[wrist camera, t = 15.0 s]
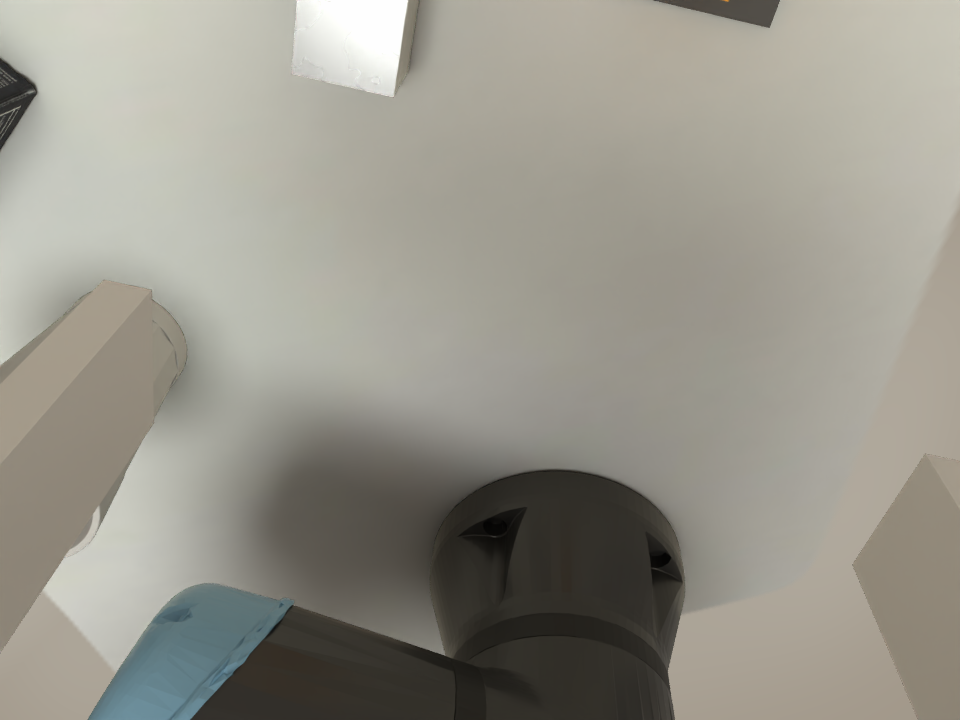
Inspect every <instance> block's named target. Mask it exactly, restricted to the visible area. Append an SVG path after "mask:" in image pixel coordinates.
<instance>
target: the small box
mask: <svg viewBox="0 0 960 720" xmlns="http://www.w3.org/2000/svg"><path fill="white" fill-rule="evenodd" d="M35 95H36V91H35V89H34V87H33V86H32V85H31V84H29V83H28V82H27V80H26V79H25V78H23V77H22V76H20V75H19V74H17V73H15V72H14V71H13V70H11V69H10V68H9V67H8V66H7V64H5V63H3V62H2V61H1V60H0V149H1V147H2V145H3V144H4V142H5V141H6V139H7V138H8V136H9V135H10V134H11V132H12V130H13V129H14V127H15V126H16V124H17V122H18V121H19V119H20V118H21V116H22V115H23V113H24V111H25V109H26V108H27V107H28V105H29V103H30V102H31V100H32V99H33V97H34V96H35Z"/></svg>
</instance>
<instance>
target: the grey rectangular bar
mask: <svg viewBox="0 0 960 720" xmlns="http://www.w3.org/2000/svg"><path fill="white" fill-rule="evenodd" d="M418 5H419V0H297V6H296V18H295V31H294V44H293V57H292V70H291V74H293V75H297V76H302V77H306V78H311V79H315V80H319V81H324V82H328V83H333V84H337V85H341V86H346V87H350V88H355V89H359V90H363V91H368V92H372V93H376V94H381V95H385V96H390V97H394V96H395V94H396V92H397V90H398V89H399V87H400V85H401V84H402V82H403V80H404V78H405V77H406V75H407V73H408V70H409V63H410V57H411V50H412V44H413V37H414V31H415V24H416V18H417V11H418Z"/></svg>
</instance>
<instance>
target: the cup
mask: <svg viewBox="0 0 960 720" xmlns="http://www.w3.org/2000/svg"><path fill="white" fill-rule="evenodd" d="M90 293H91V292H90ZM90 293H87V294H86V295H84V296H83V297H81V298H80V299H79V300H78V301H77V302H76V303H75V304H74V305H73V306H72V307H71V308H70V309H69V310H68V311H67V312H66V313H65V314H64V315H63V316H62V317H61V318H60V319H58V320H57V321H56V322H55V323H53V324H52V325H51V326H50V327H48V328H47V329H46V330H45V331H43V332H42V333H41V334H40V335H38V336H37V337H36V338H35V339H33V340H32V341H31V342H30V343H28V344H27V345H26V346H25V347H23V348H22V349H21V350H20V351H18V352H17V353H16V354H14V355H13V356H12V357H11V358H9V359H8V360H7V361H6V362H4V363H3V364H2V365H1V366H0V384H1V383H2V382H3V381H4V380H5V379H6V378H7V377H8V376H9V375H10V374H11V373H12V372H13V371H14V370H15V369H16V368H17V367H18V366H19V365H20V364H21V363H22V362H23V361H24V360H25V359H26V358H27V357H28V356H29V355H30V354H31V353H32V352H33V351H34V350H35V349H36V348H37V347H38V346H39V345H40V344H41V343H42V342H43V341H44V340H45V339H46V338H47V337H48V336H49V335H50V334H51V333H52V332H53V331H54V330H55V329H56V328H57V327H58V326H59V325H60V324H61V323H62V322H63V321H64V320H65V319H66V318H67V317H68V316H69V315H70V314H71V313H72V312H73V311H74V310H75V308H76V307H77V306H78V305H79V304H80V303H81V302H82V301H83V300H84V299H85V298H86V297H87V296H88V295H89V294H90ZM152 337H153V399H154V418H155V416H156V414H157V412H158V410H159V408H160V406H161V404H162V402H163V401H164V399H165V397H166V395H167V393H168V391H169V389H170V388H171V387H172V385H173V384H174V382H175V381H176V379H177V378H178V376H179V375H180V374H181V372H182V370H183V369H184V366H185V363H186V359H187V346H186V341H185V338H184V335H183V333H182V331H181V329H180V327H179V325H178V324H177V322H176V321H175V320H174V318H173V317H172V316H171V315H170V314H169V313H168V312H167V311H166V310H165V309H164V308H163V307H161V306H160V305H159V304H157V303H156V302H154V301H153V300H152ZM140 444H141V443H140ZM139 446H140V445H139ZM139 446H138V448H139ZM138 448H137V449H136V451H135V452H134V454H133V455H132V457H131V458H130V460H129V461H128V463H127V464H126V466H125V467H124V468H123V470H122V471H121V473H120V474H119V476H118V477H117V479H116V480H115V482H114V483H113V485H112V486H111V488H110V489H109V491H108V492H107V494H106V495H105V497H104V498H103V500H102V501H101V503H100V504H99V506H98V507H97V509H96V510H95V512H94V513H93V515H92V516H91V518H90V519H89V521H88V522H87V524H86V525H85V527H84V528H83V530H82V531H81V533H80V534H79V536H78V537H77V539H76V540H75V542H74V543H73V545H72V546H71V548H70V549H69V551H68V552H67V554H66V555H65V557H64V558H66V557H69V556H71V555H73V554H75V553H77V552H79V551H81V550H82V549H83V548H85V547H86V546H87V545H88V544H89V543H90V542H91V541H92V539H93V538H94V537H95V535H96V533H97V531H98V529H99V527H100V525H101V523H102V521H103V519H104V517H105V515H106V513H107V511H108V509H109V507H110V505H111V503H112V501H113V499H114V497H115V495H116V493H117V491H118V489H119V487H120V485H121V483H122V481H123V479H124V476H125V472H126V471H127V469H128V467H129V465H130V463H131V461H132V459H133V457H134V455H135V454H136V452H137V450H138Z"/></svg>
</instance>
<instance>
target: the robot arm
mask: <svg viewBox="0 0 960 720" xmlns="http://www.w3.org/2000/svg"><path fill="white" fill-rule="evenodd" d="M153 424H154V399H153V337H152V290H150V289H145V288H140V287H135V286H131V285H126V284H121V283H117V282H112V281H107V280H103V281H102V282H101V283H100V284H99V285H98V286H97V287H96V288H95V289H94V290H93V291H92V292H91V293H90V294H89V295H88V296H87V297H86V298H85V299H84V300H83V301H82V302H81V303H80V304H79V305H78V306H77V307H76V308H75V310H74V311H73V312H72V313H71V314H70V315H69V316H68V317H67V318H66V319H65V320H64V321H63V322H62V323H61V324H60V325H59V326H58V327H57V328H56V329H55V330H54V331H53V332H52V333H51V334H50V335H49V336H48V337H47V338H46V339H45V340H44V341H43V342H42V343H41V344H40V345H39V346H38V347H37V348H36V349H35V350H34V351H33V352H32V353H31V354H30V355H29V356H28V357H27V358H26V359H25V360H24V361H23V362H22V363H21V364H20V365H19V366H18V367H17V368H16V369H15V370H14V371H13V372H12V373H11V374H10V375H9V376H8V377H7V378H6V379H5V380H4V381H3V382H2V383H1V384H0V653H1V651H2V650H3V648H4V646H5V645H6V644H7V642H8V641H9V639H10V638H11V636H12V635H13V633H14V632H15V630H16V629H17V627H18V626H19V624H20V623H21V621H22V619H23V618H24V617H25V615H26V614H27V612H28V611H29V609H30V608H31V606H32V605H33V603H34V602H35V600H36V599H37V597H38V596H39V594H40V593H41V591H42V590H43V588H44V587H45V585H46V584H47V582H48V581H49V579H50V578H51V576H52V575H53V573H54V572H55V570H56V569H57V567H58V566H59V564H60V563H61V561H62V560H63V558H64V557H65V555H66V554H67V552H68V551H69V549H70V548H71V546H72V545H73V543H74V542H75V540H76V539H77V537H78V536H79V534H80V533H81V531H82V530H83V528H84V527H85V525H86V524H87V522H88V521H89V519H90V518H91V516H92V515H93V513H94V512H95V510H96V509H97V507H98V506H99V504H100V503H101V501H102V500H103V498H104V497H105V495H106V494H107V492H108V491H109V489H110V488H111V486H112V485H113V483H114V482H115V480H116V479H117V477H118V476H119V474H120V473H121V471H122V470H123V468H124V467H125V466H126V464H127V463H128V461H129V460H130V458H131V457H132V455H133V454H134V452H135V451H136V449H137V448H138V446H139V445H140V443H141V442H142V440H143V439H144V437H145V436H146V434H147V433H148V431H149V430H150V428H151V427H152V425H153ZM852 565H853V567H854V570H855V572H856V575H857V577H858V579H859V582H860V584H861V586H862V589H863V591H864V594H865V596H866V598H867V600H868V603H869V605H870V608H871V610H872V612H873V615H874V617H875V619H876V622H877V624H878V627H879V629H880V631H881V634H882V636H883V639H884V641H885V643H886V646H887V648H888V650H889V653H890V655H891V658H892V660H893V662H894V665H895V667H896V669H897V672H898V674H899V677H900V679H901V681H902V684H903V686H904V688H905V691H906V693H907V696H908V698H909V700H910V703H911V705H912V707H913V710H914V712H915V714H916V717H917V719H918V720H960V461H958V460H953V459H948V458H944V457H939V456H934V455H930V454H925V455H924V456H923V458H922V459H921V461H920V462H919V464H918V465H917V467H916V469H915V470H914V471H913V473H912V475H911V476H910V477H909V479H908V481H907V482H906V484H905V485H904V487H903V488H902V490H901V491H900V493H899V494H898V496H897V497H896V499H895V501H894V502H893V503H892V505H891V507H890V508H889V509H888V511H887V512H886V514H885V516H884V517H883V519H882V520H881V522H880V523H879V525H878V526H877V528H876V529H875V531H874V532H873V534H872V535H871V537H870V538H869V540H868V541H867V543H866V544H865V546H864V548H863V549H862V550H861V552H860V554H859V555H858V557H857V558H856V560H855V561H854V563H853V564H852ZM430 594H431V599H432V603H433V607H434V611H435V615H436V619H437V623H438V627H439V631H440V635H441V639H442V643H443V647H444V651H445V655H446V656H444V655H441V654H438V653H435V652H432V651H429V650H426V649H423V648H420V647H417V646H414V645H411V644H408V643H405V642H402V641H399V640H396V639H393V638H390V637H387V636H384V635H381V634H378V633H375V632H372V631H369V630H366V629H363V628H360V627H357V626H354V625H351V624H348V623H345V622H342V621H339V620H336V619H333V618H330V617H327V616H324V615H321V614H318V613H315V612H312V611H309V610H306V609H303V608H300V607H297V606H294V605H293V604H294V600H291V599H288V598H283V599H281V600H275V599H272V598H268V597H264V596H261V595H257V594H253V593H250V592H246V591H242V590H239V589H235V588H232V587H228V586H224V585H221V584H213V583H206V584H199V585H195V586H192V587H189V588H187V589H185V590H183V591H181V592H180V593H178V594H177V595H176V596H174V597H173V598H172V599H171V600H170V601H169V602H168V603H167V604H166V605H165V606H164V607H163V608H162V609H161V610H160V611H159V613H158V614H157V615H156V616H155V617H154V619H153V620H152V621H151V623H150V624H149V625H148V627H147V628H146V630H145V631H144V633H143V634H142V636H141V637H140V638H139V640H138V641H137V643H136V644H135V646H134V647H133V649H132V650H131V652H130V653H129V655H128V656H127V658H126V659H125V661H124V662H123V664H122V665H121V667H120V668H119V670H118V671H117V673H116V675H115V676H114V678H113V679H112V681H111V682H110V684H109V686H108V687H107V689H106V690H105V692H104V694H103V695H102V697H101V698H100V700H99V702H98V703H97V705H96V706H95V708H94V710H93V711H92V713H91V715H90V716H89V718H88V720H675V717H674V710H673V704H672V699H671V692H670V685H669V678H668V667H669V663H670V659H671V654H672V650H673V646H674V642H675V637H676V633H677V629H678V624H679V620H680V615H681V611H682V607H683V602H684V597H685V575H684V569H683V564H682V558H681V553H680V548H679V544H678V541H677V538H676V535H675V533H674V531H673V529H672V527H671V526H670V524H669V523H668V521H667V520H666V518H665V517H664V516H663V515H662V514H661V512H660V511H659V510H658V509H657V508H656V507H655V506H653V505H652V504H651V503H650V502H649V501H647V500H646V499H645V498H643V497H642V496H640V495H639V494H637V493H635V492H634V491H632V490H630V489H628V488H626V487H624V486H622V485H620V484H617V483H615V482H612V481H609V480H606V479H603V478H600V477H596V476H591V475H587V474H581V473H573V472H536V473H528V474H522V475H517V476H513V477H509V478H506V479H503V480H500V481H497V482H495V483H492V484H490V485H488V486H485V487H483V488H482V489H480V490H478V491H476V492H474V493H473V494H471V495H470V496H468V497H467V498H466V499H464V500H463V501H462V502H461V503H460V504H458V505H457V506H456V507H455V508H454V509H453V510H452V511H451V513H450V514H449V515H448V516H447V518H446V519H445V521H444V522H443V524H442V525H441V527H440V529H439V531H438V534H437V536H436V540H435V543H434V548H433V555H432V561H431V568H430Z"/></svg>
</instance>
